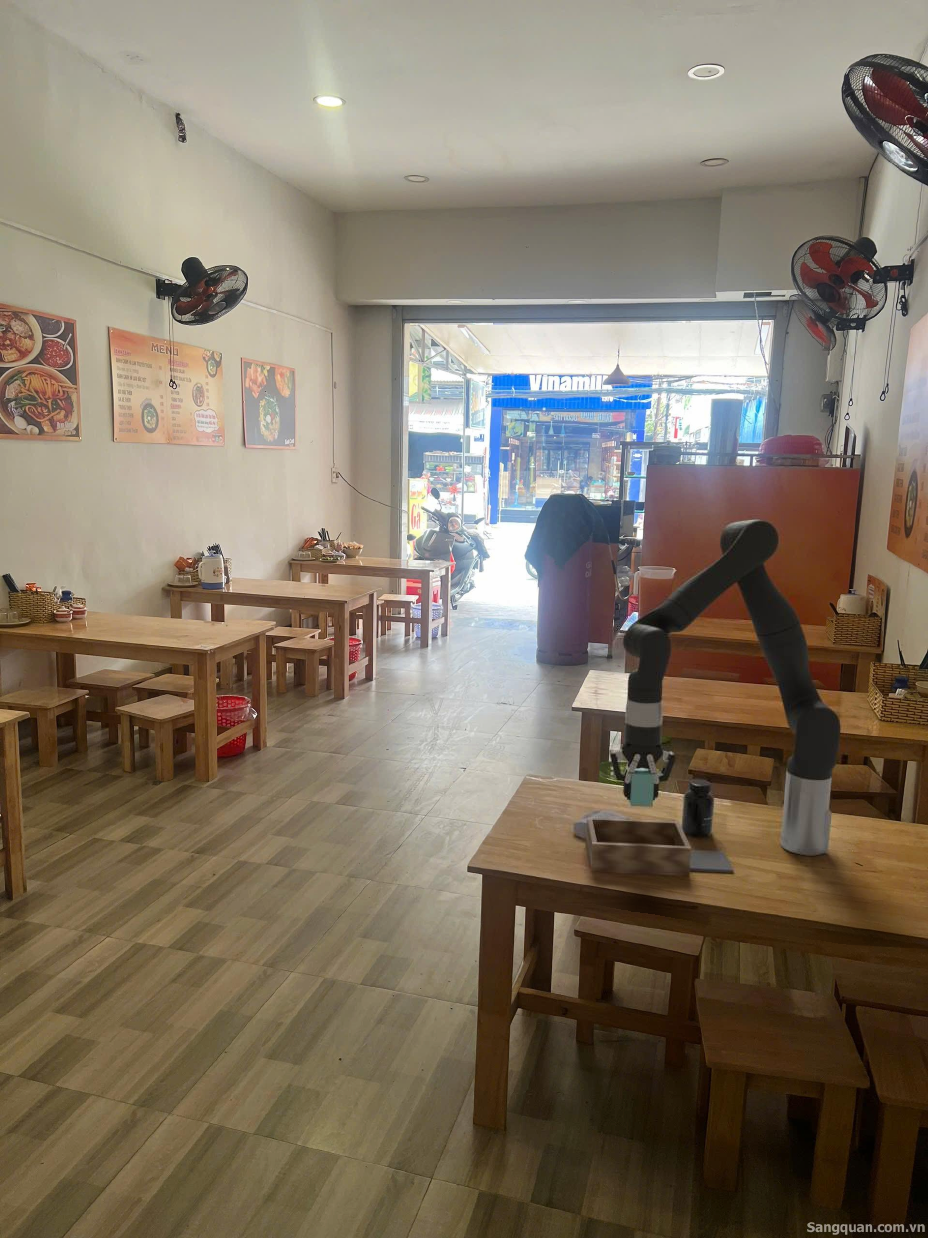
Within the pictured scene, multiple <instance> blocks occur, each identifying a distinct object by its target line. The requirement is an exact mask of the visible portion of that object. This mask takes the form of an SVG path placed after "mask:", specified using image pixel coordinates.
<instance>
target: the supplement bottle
mask: <svg viewBox="0 0 928 1238" xmlns="http://www.w3.org/2000/svg"><path fill="white" fill-rule="evenodd" d="M711 791H712V783H711V782H710V781H708V780H705V779H699V778H696V779H695V778H694V779H690V780H689V784H688V790H687V791H686V792H685V793H684V795H683V802H682V804H683V805H682V813H681V815H682V817H681V827H682V829H683V832H684V834H685V835H688V836H691V837H694V838H708V837H709V836H710V835H711V834H712V831H713V821H714V812H715V811H714V808H715V798H714V795H712V793H711Z"/></svg>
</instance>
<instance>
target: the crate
mask: <svg viewBox="0 0 928 1238" xmlns="http://www.w3.org/2000/svg"><path fill="white" fill-rule="evenodd" d="M585 845H586V849H587V851H586V852H587V857H588V861H589V868H590V872H595V873H596V872H598V873H613V874H615V873H617V874H618V873H619V874H639V875H640V874H641V875H657V876H658V875H661V876H679V877H680V876H682V877H689V876H690V872H691V871H690V859H691V850H692V847H691V844H690V843H689V841H688V839H687V836H686V834H685V833H684V832H683V829H682V824H681V823H680V821H676V820H675V821H673V820H656V819H655V820H650V819H633V818H632V819H631V818H629V819H611V818H589V817H587V833H586V840H585Z"/></svg>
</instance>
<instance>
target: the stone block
mask: <svg viewBox="0 0 928 1238" xmlns="http://www.w3.org/2000/svg"><path fill="white" fill-rule="evenodd" d="M587 817H589V818H611V819H630V818H629V817H627V816H624V815H622V814H619V813H617V812H614V811H610V810H595V811H591V812H590V813H587V814H586V815H584V816H583V817H581V818H580V819H578V820H576V821H575V822H574V823H573V833H574V834H575V835H576V836H577V837H579V838H583V839H586V833H587Z"/></svg>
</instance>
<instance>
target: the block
mask: <svg viewBox="0 0 928 1238" xmlns="http://www.w3.org/2000/svg"><path fill="white" fill-rule="evenodd" d="M630 782H631V797H630V800H628V802H629V805H630V807H640V808H641V807H642V808H643V807H645V808H648V807H649V808H652V807H654V800H653V790H654V774H651V772H650V770H649V769H645V768H639V769H635V772H634V773H632V774H631V781H630Z"/></svg>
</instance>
